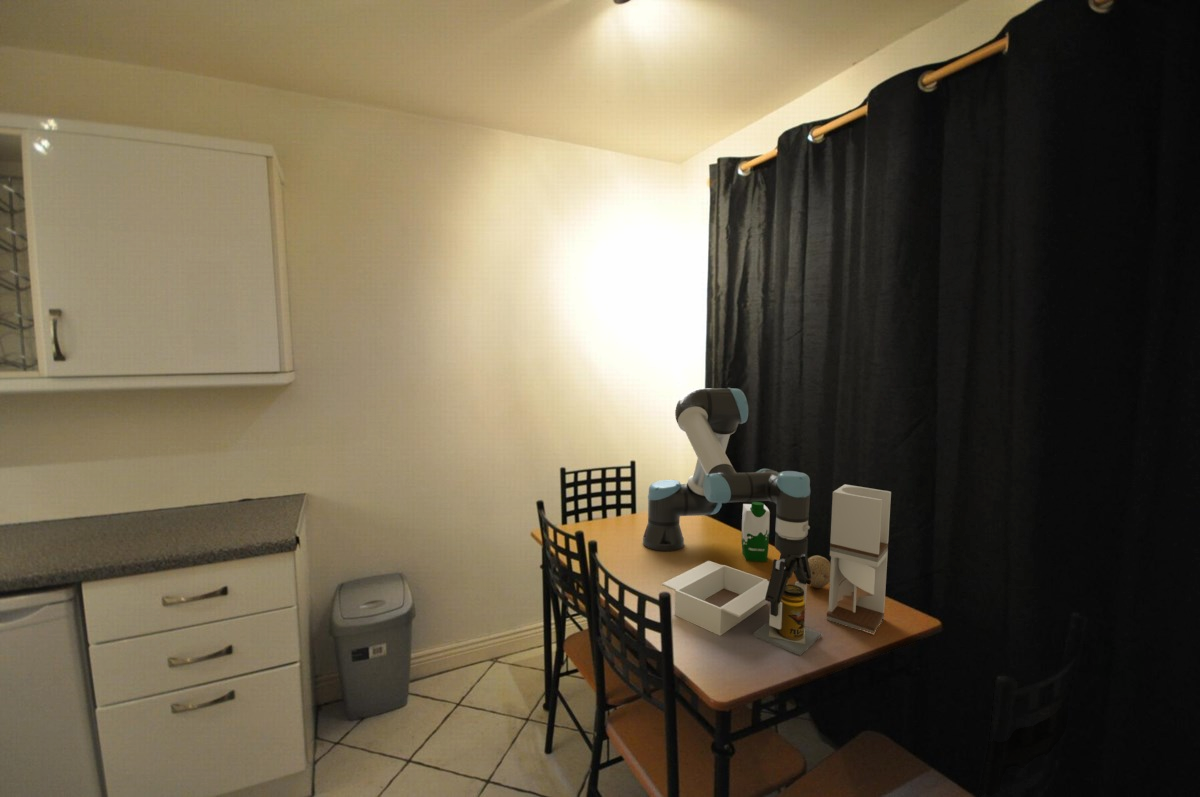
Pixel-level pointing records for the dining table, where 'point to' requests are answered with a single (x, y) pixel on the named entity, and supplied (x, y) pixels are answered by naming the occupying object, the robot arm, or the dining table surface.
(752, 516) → the milk carton
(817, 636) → the slate mat
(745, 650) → the dining table surface
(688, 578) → the carton
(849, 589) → the white cereal dispenser
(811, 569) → the natural sponge
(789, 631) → the condiment
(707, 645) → the dining table surface
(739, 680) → the dining table surface
